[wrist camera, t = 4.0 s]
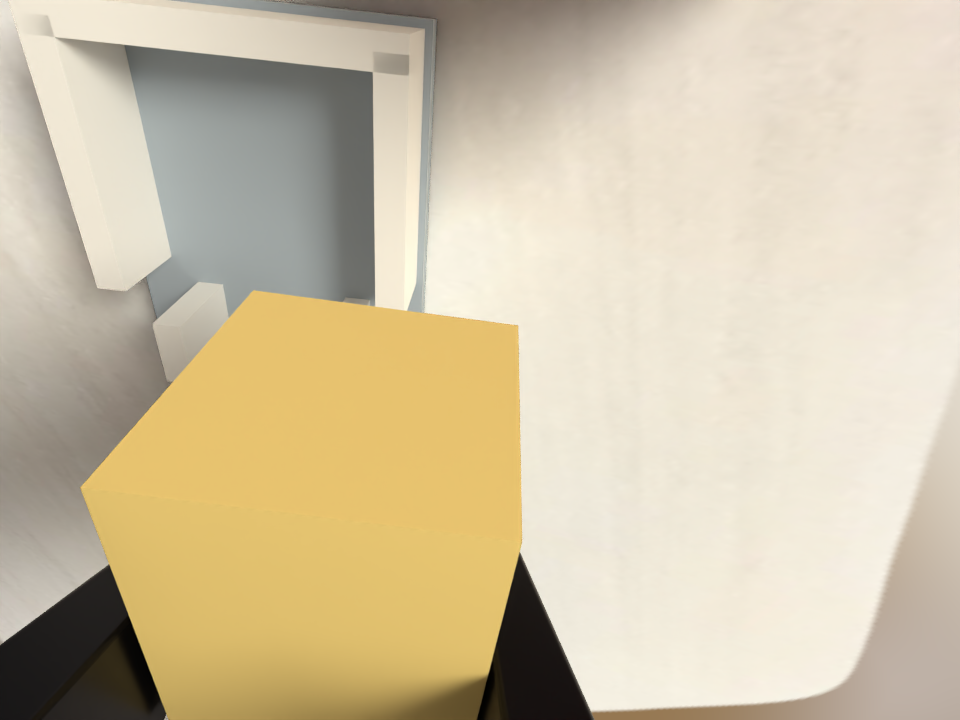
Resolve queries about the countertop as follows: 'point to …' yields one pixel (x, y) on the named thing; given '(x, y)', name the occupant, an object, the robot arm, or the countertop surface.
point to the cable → (322, 515)
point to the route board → (239, 151)
